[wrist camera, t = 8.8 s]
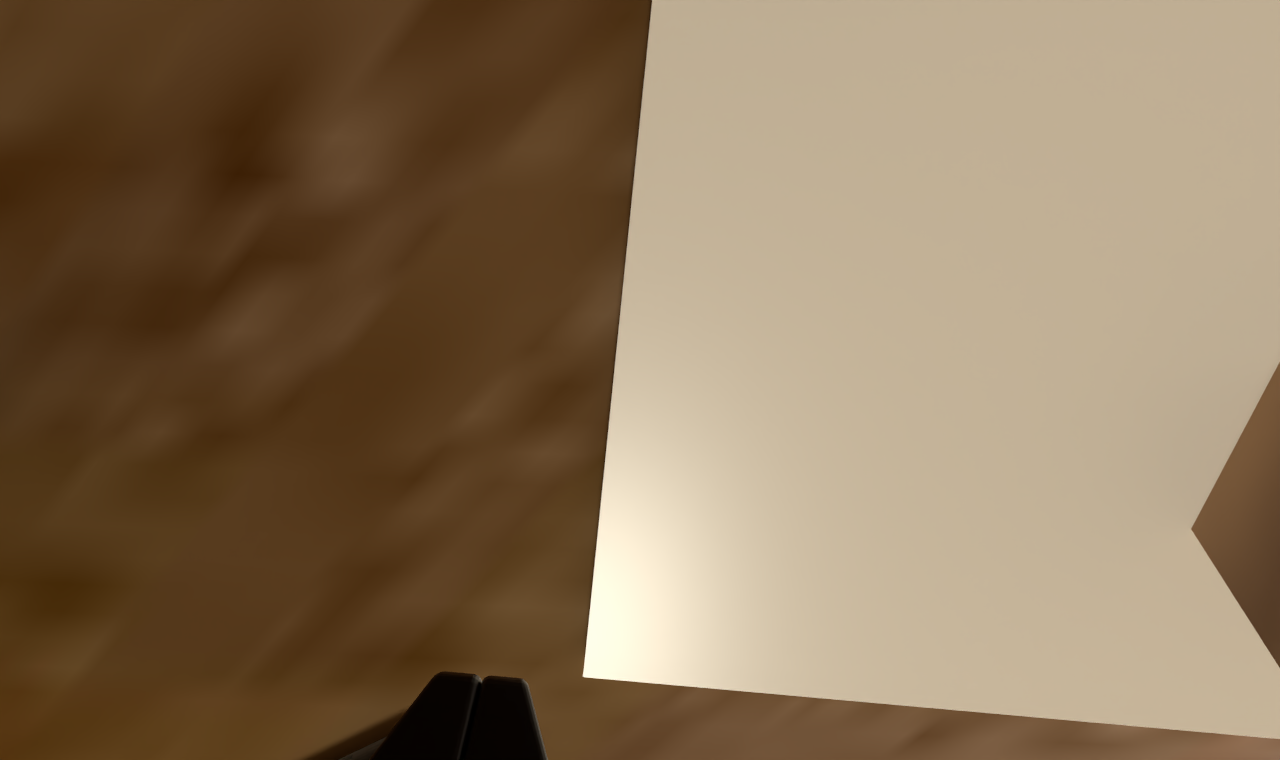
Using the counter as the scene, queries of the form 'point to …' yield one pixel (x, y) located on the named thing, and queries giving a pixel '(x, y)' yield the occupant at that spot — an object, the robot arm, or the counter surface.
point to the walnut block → (1250, 519)
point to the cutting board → (944, 355)
